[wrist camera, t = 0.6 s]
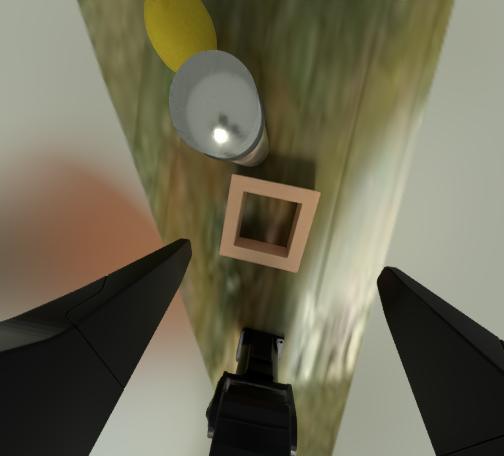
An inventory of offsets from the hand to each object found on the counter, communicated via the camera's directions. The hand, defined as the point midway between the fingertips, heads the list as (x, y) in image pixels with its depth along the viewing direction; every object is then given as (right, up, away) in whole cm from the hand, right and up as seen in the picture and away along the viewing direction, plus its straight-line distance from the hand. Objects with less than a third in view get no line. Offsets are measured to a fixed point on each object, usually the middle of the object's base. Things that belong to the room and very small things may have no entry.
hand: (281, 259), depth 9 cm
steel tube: (-2, +11, +14) cm, 18 cm away
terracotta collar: (+1, +3, +16) cm, 16 cm away
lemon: (-7, +20, +12) cm, 24 cm away
